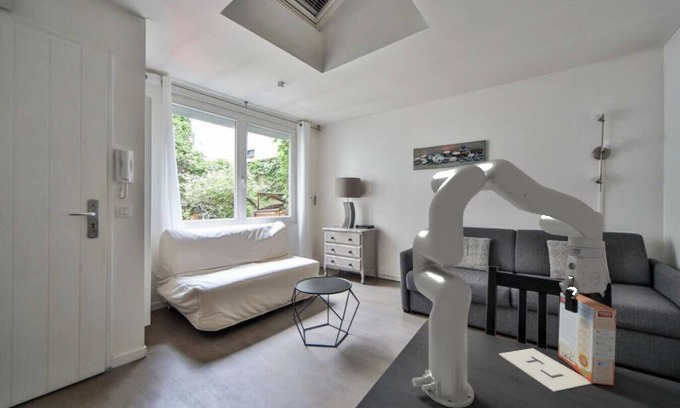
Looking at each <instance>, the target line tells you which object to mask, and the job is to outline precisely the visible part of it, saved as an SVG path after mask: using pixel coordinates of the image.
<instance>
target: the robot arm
mask: <svg viewBox="0 0 680 408" xmlns="http://www.w3.org/2000/svg"><path fill="white" fill-rule="evenodd" d="M430 187H431V190H432V192H433V193H434V195H433V197H432V198H431V201H430V204H429V208H428V210H429V211H428V227H427V228H426V227H425V228H423V229H421V230H420V231H418V233H416V235H415V237H414V239H413V242H412V269H413V270H412V271H413V273H412V274H413V281H414V286H415V287H416V289H417V291H418V292H419V293H420V294H421V295H423V296H424V297H425V298H426V299H429V301H431V302H432V308H431V311H430V313H429V317H428V369H425V370H424V374H422V376H418V377H412V378H411V383H412V385H413V387H420V386H421V387H420V388H421V389H422V391H423V392H425V394H426V395H427V396H428V397H429V398H430V399H431V400H432V401H434V402H436V403H437V404H439V405H443V406H445V407H448V408H466V407H468V406H470V405H471V404H472V403H473V402H474V399H475V391H474V389H473V388H472V386H471V384H470V383H469V382H468V320H469V319H468V318H469V311H470V308H471V307H470V306H471V303H472V289H471V286H470V284H469V283H468V281H467V280H466V279H465V278H464V277H463V276H461V275H459V274H457V273H455V272H453V271H451V270H448V269H447V268H456V267H458V266H460V265H461V263H462V262H463V259H464V257H465V255H464V254H465V248H464V247H465V244H464V242H465V241H464V215H465V214H464V213H465V209H466V208H467V205H468V204H469V203H470V201H471V200H472V199H473V198H474V197H475V196H477V194H479V193H480V192H481V191H492V192H494V193H496V194H497V195H498V196H500V197H501V198H502V199H504V200H505V201H507V203H510V204H511V205H512V206H513V207H515V208H516V209H518V210H520V211H523V212H526V213H530V214H534V215H539V216H540V217H539V219H538V225H539V227H540V229H541V230H542V231H543V232H546V233H547V234H551V235H555V236H562V237H568V238H567V259H566V265H565V270H564V271H565V274H564V279H563V280H562V281H560V282H559V287H560V289H561V290H560V291H561V293H563V296H565V309H566V310H568V311H571V312H573V313H578V299H576V298H577V296H578V294H589V298H590V299H592V300H594V301H596V302H599V303H601V304H603V305H604V297H605V294H606V293H605V292H606V291H607V286H608V284H609V281H608V279H607V273H606V265H605V260H604V258H603V232H604V231H603V226H604V223H603V221H604V220H603V219H604V218H603V214H602V213H601V212H599V211H596V210H594V209H593V208H592V207H591V206H589V205H588V204H587V203H585V202H584V201H582V200H580V199H579V198H577V197H575V196H572V195H570V194H566V193H564V192H561V191H559V190H556V189H553V188H551V187H548V186H544V185H542V184H540V183H539V182H537V181H536V180H535V179H534V178H532V177H531V176H530V175H528V174H527V173H525V172H524V171H523V170H522V169H520V168H519V167H518V166H517V165H515V163H512V162H511V161H509V160H507V159H503V158H495V159H491V160H486V161H482V162H476V163H473V164H465V165H464V164H463V165H458V166H454V167H449V168H445V169H441V170H439V171H437V172H435V174H434V175H433V177H432V178H431V181H430ZM445 268H446V269H445ZM572 293H573V294H572Z"/></svg>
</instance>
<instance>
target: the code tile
mask: <svg viewBox="0 0 680 408" xmlns="http://www.w3.org/2000/svg"><path fill="white" fill-rule="evenodd" d="M498 355H499V356H501V357H502V358H503V359H505V360H506V361H508V362H509V363H511V364H512V365H513V366H515V367H516V368H518V369H519V370H521V371H522V372H524V373H525V374H527V375H528V376H529V377H531V378H532V379H534V380H536V381H537V382H538V383H540V384H542V385H543V386H545V387H546V388H547V389H549V390H550V391H552V392H560V391H564V390H569V389H575V388H578V387H583V386H588V385H592V384H594V383H591V382H590V381H588V380H587V379H586V378H585V377H584V376H582V375H581V374H580V373H579V372H578V373H577V371H576V372H575V371H574V370H572V369H570V368H569V367H566V366H565V365H563V364H561V363H559V362H558V361H557V360H554V359H553V358H551V357H549V356H547V355H546V354H545V353H543V352H540V351H538V350H537V349H535V348H533V347H532V348H527V349H521V350H520V349H518V350H514V351H508V352H501V353H498Z"/></svg>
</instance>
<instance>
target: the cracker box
mask: <svg viewBox="0 0 680 408" xmlns="http://www.w3.org/2000/svg"><path fill="white" fill-rule="evenodd" d="M571 293H572V294H573V293H574V292H571ZM576 299H578V313H573V312H571V311H568V310H566V309H565V296H563V293H562V292H560V296H559V325H558V326H559V329H558V330H559V331H558V354H557V355H558V357H559V358H561V359H562V360H563V361H564V362H565V363H567V364H568V365H569V366H570V367H572V368H573V370H575V371H576V372H578V374H579V375H581V376H583V377H585V378H586V379H587V380H588V381H590V382H591V383H593V384H595V385H596V384H598V385H605V386H615V362H616V361H615V359H616V357H615V356H616V332H617V331H616V325H617V310H616V309H614V308H613V307H610V306H608V305H606V304H604V303H603V304H601V303H599V302H596V301H594V300H592V299H590V297H587V296H585V295H583V294H582V293H579V294H578V296H577V298H576Z"/></svg>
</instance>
